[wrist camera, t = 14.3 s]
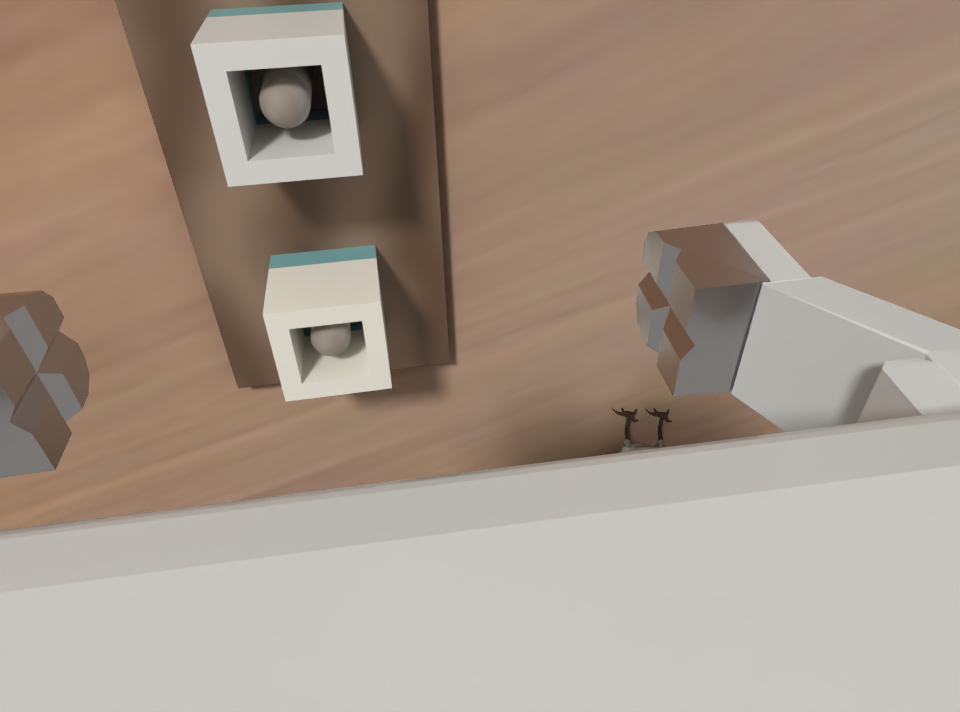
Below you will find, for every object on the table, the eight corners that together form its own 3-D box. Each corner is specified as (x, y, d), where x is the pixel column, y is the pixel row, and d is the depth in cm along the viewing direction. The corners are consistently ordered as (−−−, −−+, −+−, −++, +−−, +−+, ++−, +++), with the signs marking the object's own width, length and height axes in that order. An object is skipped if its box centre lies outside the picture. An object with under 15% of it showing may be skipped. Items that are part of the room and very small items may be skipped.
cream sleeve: (375, 244, 41) (380, 301, 36) (385, 327, 44) (392, 388, 40) (270, 255, 40) (262, 314, 35) (290, 338, 44) (285, 401, 39)
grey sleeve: (342, 2, 33) (344, 34, 28) (359, 128, 36) (363, 175, 32) (210, 9, 32) (190, 44, 27) (241, 137, 36) (228, 186, 31)
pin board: (419, -93, 32) (436, -74, 27) (447, 351, 48) (461, 417, 43) (98, -79, 30) (50, -56, 25) (240, 376, 46) (228, 448, 41)
